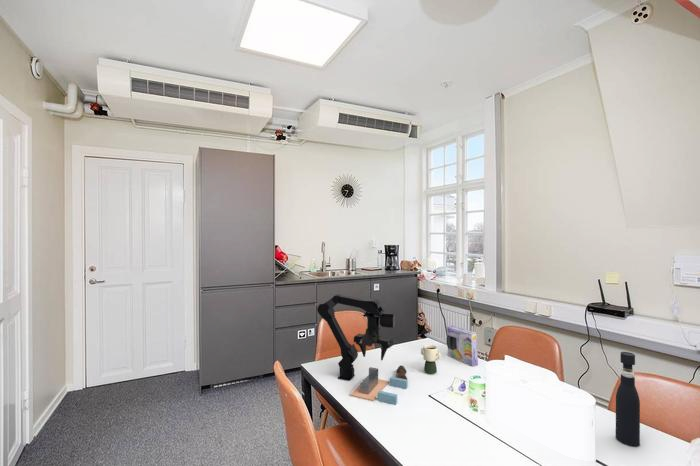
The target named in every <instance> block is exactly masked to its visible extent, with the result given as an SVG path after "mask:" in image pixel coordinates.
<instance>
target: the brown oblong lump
mask: <svg viewBox="0 0 700 466" xmlns="http://www.w3.org/2000/svg"><path fill="white" fill-rule="evenodd" d="M396 373H397V374H396V375H395V377H396V378H401V379H406V380H408V377H407V375H406V374H407V370H406V367H405V366H404V365H399V366H398V367H397V369H396Z"/></svg>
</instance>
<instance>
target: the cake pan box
mask: <svg viewBox="0 0 700 466" xmlns="http://www.w3.org/2000/svg"><path fill="white" fill-rule="evenodd" d="M477 334H478V333H477V332H475V331H472V330H469V329H466V328H464V327H463V328H462V327H458V326H456V325H453V324H452V325H449V326H447V327H446V339H445V340H446V346H447V357H449V358H452V359H454V360H456V361H459V362H461V363H464V364H466V365H469V366H471V367H475V366H478V365H479V359H478V358H479V357H478V335H477Z"/></svg>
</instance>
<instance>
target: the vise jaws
mask: <svg viewBox="0 0 700 466" xmlns="http://www.w3.org/2000/svg"><path fill="white" fill-rule="evenodd" d="M408 382H409V381H408V379H407V380H406V379H401V378H396V376H390V377H389V386H390V387H394V388H399V389H405V390H407V389H408ZM377 401H378V402H382V403H386V404H390V405H394V406H396V405H397V404H398V394H396V393H392V392H388V391H383V390H382V391H379V392H378V396H377Z"/></svg>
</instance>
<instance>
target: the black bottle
mask: <svg viewBox="0 0 700 466" xmlns="http://www.w3.org/2000/svg"><path fill="white" fill-rule="evenodd" d="M620 363H622V369H621V374H620V382H619V385H618V387H617V390H616V393H615V440H616V441H618V442H619V443H621V444H623V445H625V446H629V447H633V448H638V447H640V445H641V444H640V441H641V435H640V433H641V400H640V396H639V392H638V390H637V387H636V385H635V383H636V382H635V381H636V379H635V375H634V374H635V372H634V371H633V366H635V365H636V354H634V353H632V352H629V351H628V352H627V351H621V352H620Z"/></svg>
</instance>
